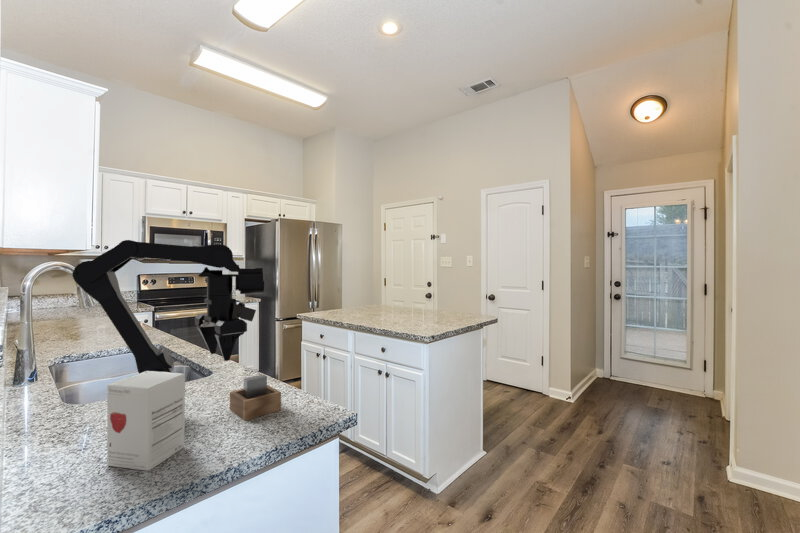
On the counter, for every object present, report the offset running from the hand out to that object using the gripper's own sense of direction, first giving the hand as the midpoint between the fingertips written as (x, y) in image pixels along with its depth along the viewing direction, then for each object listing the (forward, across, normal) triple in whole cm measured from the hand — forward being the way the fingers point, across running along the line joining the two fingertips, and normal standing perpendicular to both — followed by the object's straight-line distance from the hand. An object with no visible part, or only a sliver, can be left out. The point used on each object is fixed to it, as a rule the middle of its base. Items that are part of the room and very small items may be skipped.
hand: (219, 357), depth 93 cm
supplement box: (+13, -14, +18) cm, 26 cm away
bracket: (+13, -7, -6) cm, 16 cm away
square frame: (+13, -7, -6) cm, 16 cm away
